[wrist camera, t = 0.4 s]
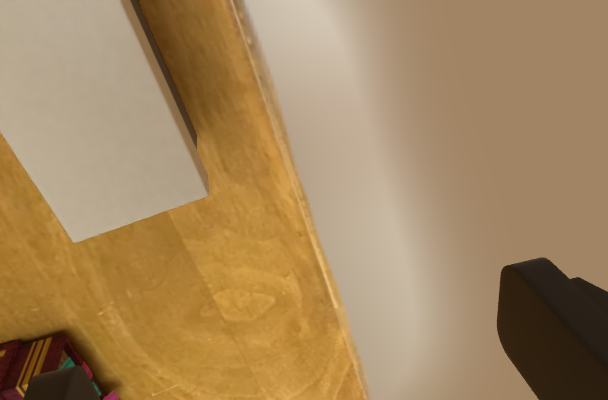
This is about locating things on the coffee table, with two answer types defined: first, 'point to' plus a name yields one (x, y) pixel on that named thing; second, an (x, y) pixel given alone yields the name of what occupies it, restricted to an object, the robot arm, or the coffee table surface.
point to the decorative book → (38, 364)
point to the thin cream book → (93, 114)
